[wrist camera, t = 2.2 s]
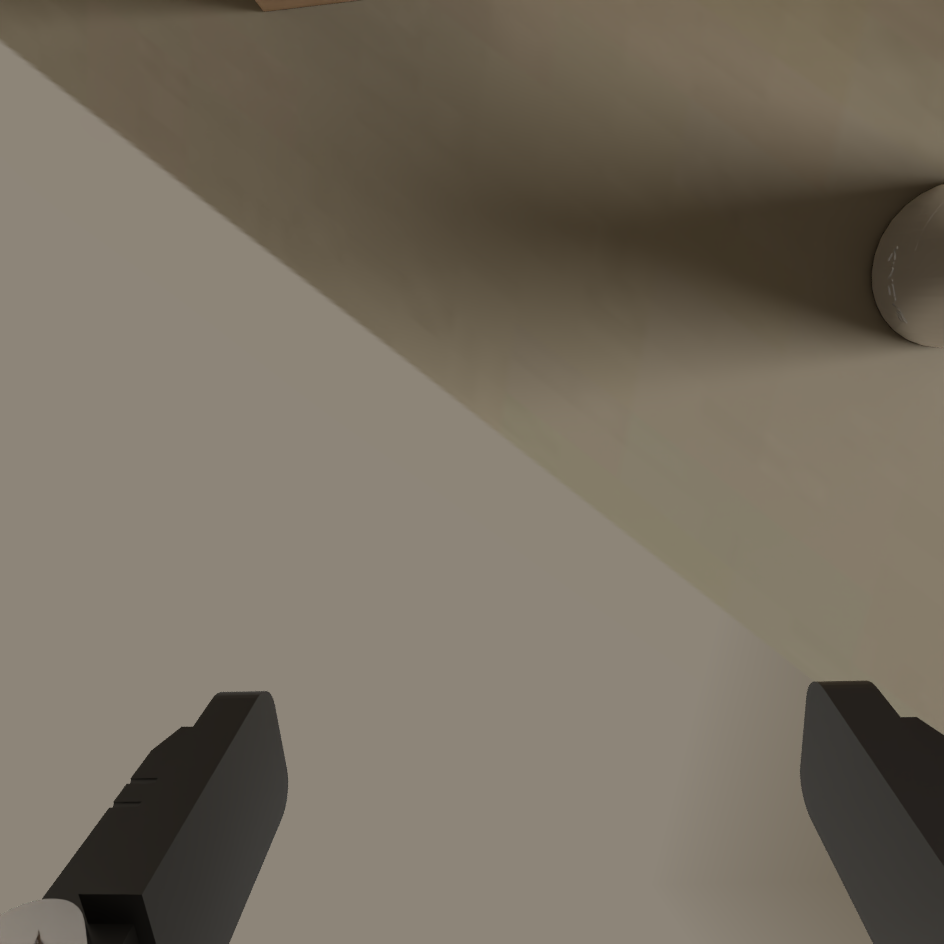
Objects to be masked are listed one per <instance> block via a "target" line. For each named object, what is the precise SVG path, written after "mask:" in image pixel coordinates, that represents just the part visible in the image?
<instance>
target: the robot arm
mask: <svg viewBox="0 0 944 944" xmlns="http://www.w3.org/2000/svg"><path fill="white" fill-rule="evenodd" d="M872 289H873V293H874V297H875V301H876V305H877V307H878V309H879V311H880V313H881V314H882V316H883V318H884V320H885V321H886V322H887V323H888V324H889V325H890V326H891V328H892V329H893V330H894V331H895V332H897V333H898V334H900V335H901V336H903V337H904V338H905V339H907V340H910V341H912V342H915V343H917V344H920V345H924V346H930V347H937V348H944V184H942V185H939V186H936V187H934V188H932V189H930V190H928V191H926V192H924V193H922V194H920V195H919V196H917V197H916V198H915V199H913V200H912V201H911V202H909V203H908V204H907V205H906V206H904V208H903V209H902V210H901V211H900V212H899V213H898V214H897V215H896V216H895V217H894V218H893V220H892V221H891V222H890V224H889V226H888V227H887V229H886V230H885V232H884V234H883V235H882V237H881V240H880V242H879V245H878V247H877V250H876V253H875V257H874V262H873V268H872ZM800 779H801V787H802V793H803V797H804V801H805V805H806V808H807V811H808V814H809V816H810V818H811V820H812V822H813V824H814V826H815V828H816V830H817V832H818V834H819V836H820V838H821V840H822V842H823V844H824V846H825V848H826V850H827V852H828V854H829V856H830V858H831V860H832V862H833V864H834V866H835V868H836V870H837V872H838V874H839V876H840V878H841V880H842V882H843V884H844V886H845V888H846V890H847V892H848V894H849V896H850V898H851V900H852V902H853V904H854V906H855V908H856V910H857V912H858V914H859V916H860V918H861V920H862V922H863V924H864V926H865V928H866V930H867V932H868V934H869V936H870V938H871V940H872V942H873V944H944V735H943V734H941V733H940V732H938V731H937V730H935V729H934V728H932V727H931V726H929V725H928V724H926V723H925V722H923V721H922V720H920V719H919V718H917V717H900V716H899V715H898V714H897V712H896V711H895V710H894V709H893V707H892V706H891V705H890V704H889V702H888V701H887V700H886V699H885V697H884V696H883V695H882V694H881V692H880V691H879V690H878V689H877V687H876V686H875V685H874V684H873V683H871V682H870V681H827V682H812V683H811V684H810V685H809V687H808V691H807V696H806V707H805V719H804V730H803V742H802V753H801V765H800ZM287 793H288V773H287V767H286V762H285V757H284V751H283V746H282V741H281V735H280V730H279V725H278V719H277V714H276V709H275V704H274V701H273V698H272V696H271V694H270V693H269V692H267V691H261V692H260V691H256V692H220V693H217V694H216V695H215V696H214V697H213V699H212V700H211V702H210V703H209V704H208V706H207V707H206V709H205V710H204V712H203V713H202V715H201V716H200V717H199V719H198V720H197V722H196V723H195V725H194V726H193V727H181V728H180V729H178V730H177V731H176V732H175V733H173V734H172V735H171V736H169V737H168V738H167V739H166V740H164V741H163V742H162V743H160V744H159V745H158V746H157V747H155V748H154V749H153V750H151V752H150V754H149V755H148V756H147V757H146V759H145V760H144V761H143V763H142V764H141V765H140V767H139V768H138V769H137V771H136V772H135V773H134V775H133V776H132V778H131V783H130V784H126V786H125V787H124V788H123V790H122V791H121V793H120V794H119V795H118V797H117V798H116V799H115V801H114V806H113V808H109V809H108V810H107V811H106V813H105V814H104V816H103V817H102V818H101V820H100V821H99V822H98V824H97V825H96V826H95V828H94V829H93V831H92V832H91V833H90V835H89V836H88V837H87V839H86V840H85V841H84V843H83V844H82V845H81V847H80V848H79V850H78V851H77V852H76V854H75V855H74V856H73V858H72V859H71V860H70V862H69V863H68V865H67V866H66V867H65V868H64V870H63V871H62V873H61V874H60V875H59V877H58V878H57V879H56V881H55V882H54V883H53V885H52V886H51V887H50V889H49V890H48V892H47V893H46V894H45V896H44V897H43V898H42V900H36V901H32V902H29V903H26V904H22V905H20V906H18V907H15V908H13V909H10V910H8V911H7V912H5V913H3V914H1V915H0V944H229V942H230V940H231V938H232V935H233V933H234V930H235V928H236V926H237V923H238V921H239V919H240V916H241V914H242V912H243V909H244V907H245V904H246V902H247V899H248V897H249V895H250V893H251V890H252V888H253V885H254V883H255V881H256V878H257V876H258V874H259V871H260V869H261V867H262V864H263V862H264V859H265V857H266V855H267V852H268V850H269V848H270V845H271V843H272V840H273V838H274V835H275V833H276V831H277V828H278V826H279V824H280V821H281V819H282V816H283V814H284V810H285V806H286V801H287Z"/></svg>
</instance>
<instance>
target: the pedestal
mask: <svg viewBox="0 0 944 944" xmlns="http://www.w3.org/2000/svg"><path fill="white" fill-rule="evenodd" d="M255 1H256V2H257V3H258V5H259V6H260V7H261V9H262V10H263V11H264V12H265V11H273V10H282V9H290V8H298V7H307V6H315V5H324V4H332V3H341V2H349V1H357V0H255Z"/></svg>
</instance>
